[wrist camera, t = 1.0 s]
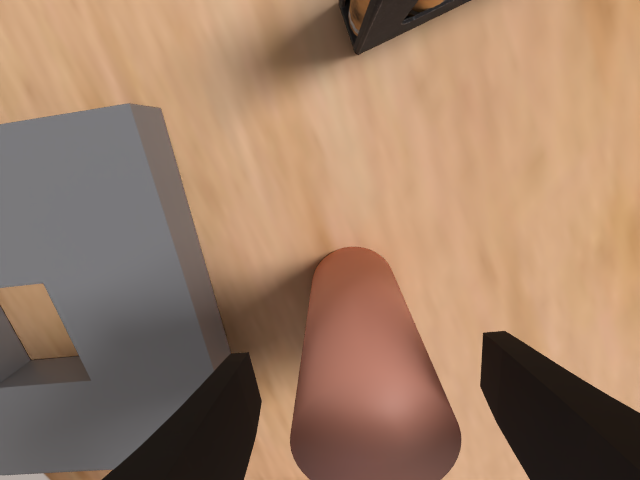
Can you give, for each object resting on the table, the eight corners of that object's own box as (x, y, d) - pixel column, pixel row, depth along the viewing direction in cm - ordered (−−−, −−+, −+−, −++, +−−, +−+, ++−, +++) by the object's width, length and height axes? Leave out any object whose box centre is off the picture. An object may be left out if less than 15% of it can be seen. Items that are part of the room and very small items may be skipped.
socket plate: (252, 428, 18) (243, 462, 16) (-14, 445, 20) (-51, 478, 18) (160, 108, 12) (129, 103, 10) (-209, 167, 14) (-295, 172, 12)
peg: (396, 316, 15) (459, 497, 8) (318, 323, 15) (304, 504, 8) (391, 242, 14) (463, 372, 6) (306, 251, 14) (275, 386, 7)
